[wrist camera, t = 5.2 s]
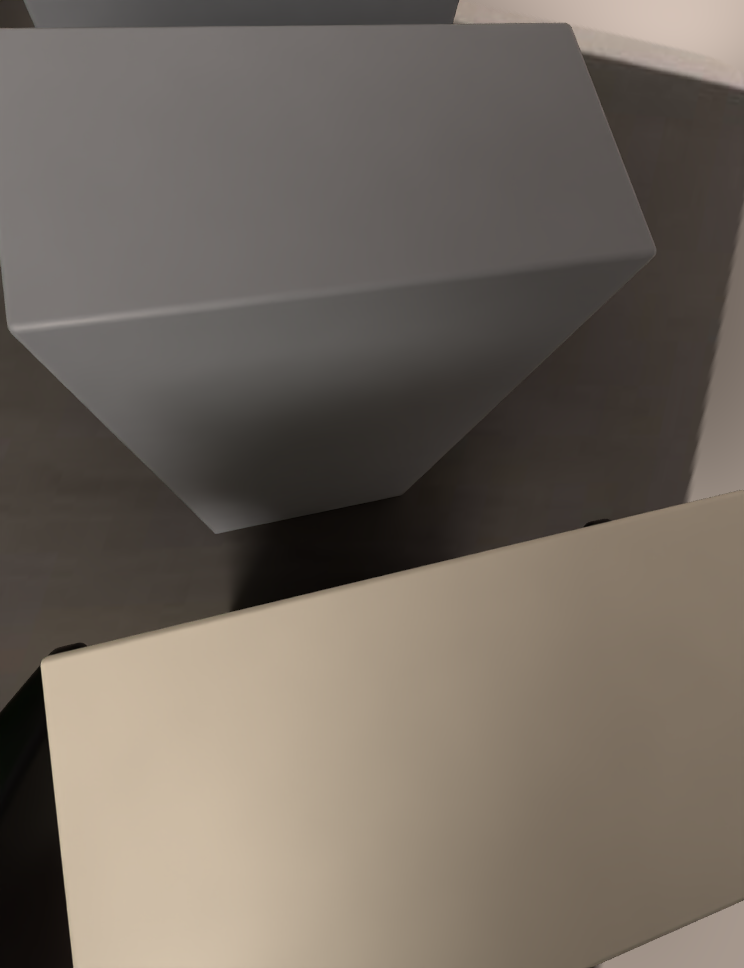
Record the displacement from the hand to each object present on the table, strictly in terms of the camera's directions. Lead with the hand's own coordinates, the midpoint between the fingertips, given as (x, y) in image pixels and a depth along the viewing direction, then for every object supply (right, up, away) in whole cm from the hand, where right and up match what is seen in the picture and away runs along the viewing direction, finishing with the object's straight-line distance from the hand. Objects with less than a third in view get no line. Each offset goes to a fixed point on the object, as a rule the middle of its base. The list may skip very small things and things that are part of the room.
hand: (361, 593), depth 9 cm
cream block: (-1, -3, +6) cm, 7 cm away
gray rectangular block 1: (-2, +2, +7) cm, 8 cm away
